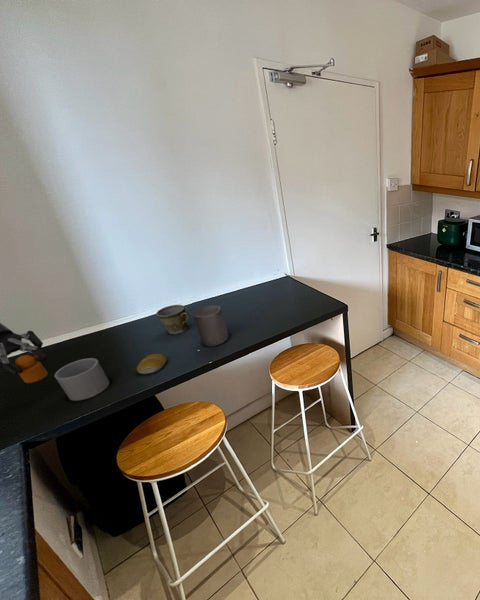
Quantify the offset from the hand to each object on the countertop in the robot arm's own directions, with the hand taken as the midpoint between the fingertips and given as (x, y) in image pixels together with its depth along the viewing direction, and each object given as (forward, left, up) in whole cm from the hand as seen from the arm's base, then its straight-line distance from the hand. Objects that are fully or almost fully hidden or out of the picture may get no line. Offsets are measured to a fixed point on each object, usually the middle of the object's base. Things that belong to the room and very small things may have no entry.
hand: (33, 365), depth 97 cm
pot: (+4, -10, -12) cm, 16 cm away
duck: (0, +2, -5) cm, 5 cm away
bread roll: (+18, -20, -12) cm, 30 cm away
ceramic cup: (+41, -10, -12) cm, 44 cm away
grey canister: (+38, -30, -12) cm, 50 cm away
